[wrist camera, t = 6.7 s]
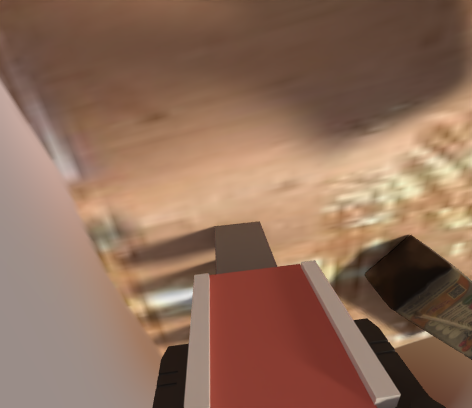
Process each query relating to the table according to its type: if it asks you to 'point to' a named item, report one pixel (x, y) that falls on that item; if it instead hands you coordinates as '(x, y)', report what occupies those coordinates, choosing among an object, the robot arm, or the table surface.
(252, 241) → the domino
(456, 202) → the table surface
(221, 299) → the domino red
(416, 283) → the beverage carton
